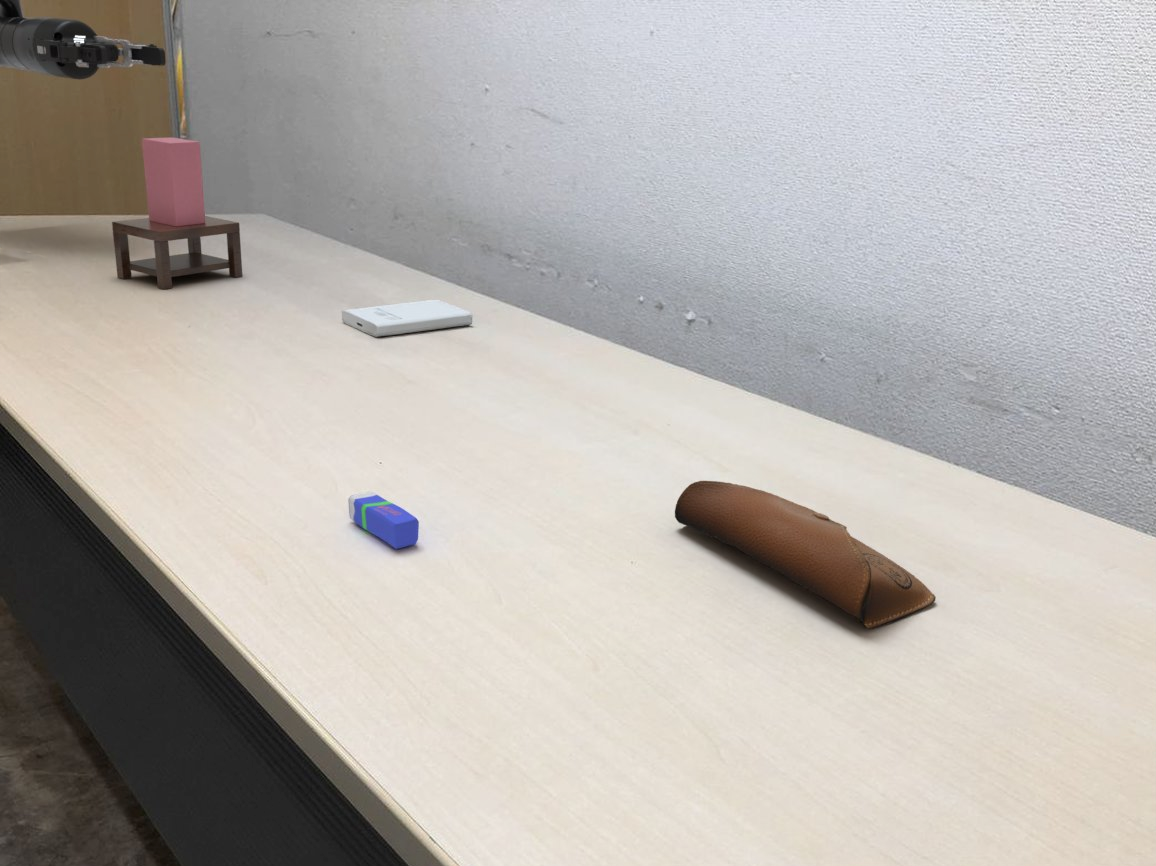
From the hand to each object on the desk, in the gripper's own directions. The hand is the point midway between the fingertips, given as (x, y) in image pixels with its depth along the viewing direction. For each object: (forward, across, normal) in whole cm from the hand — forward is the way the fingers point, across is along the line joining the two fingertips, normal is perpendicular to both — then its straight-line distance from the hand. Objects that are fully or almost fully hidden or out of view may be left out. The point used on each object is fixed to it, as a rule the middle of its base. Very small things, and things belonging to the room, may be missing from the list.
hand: (134, 56), depth 145 cm
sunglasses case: (+111, -32, +26) cm, 119 cm away
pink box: (+12, -5, +19) cm, 23 cm away
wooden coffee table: (+12, -5, +26) cm, 29 cm away
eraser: (+86, -46, +26) cm, 102 cm away
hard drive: (+48, -2, +26) cm, 55 cm away
